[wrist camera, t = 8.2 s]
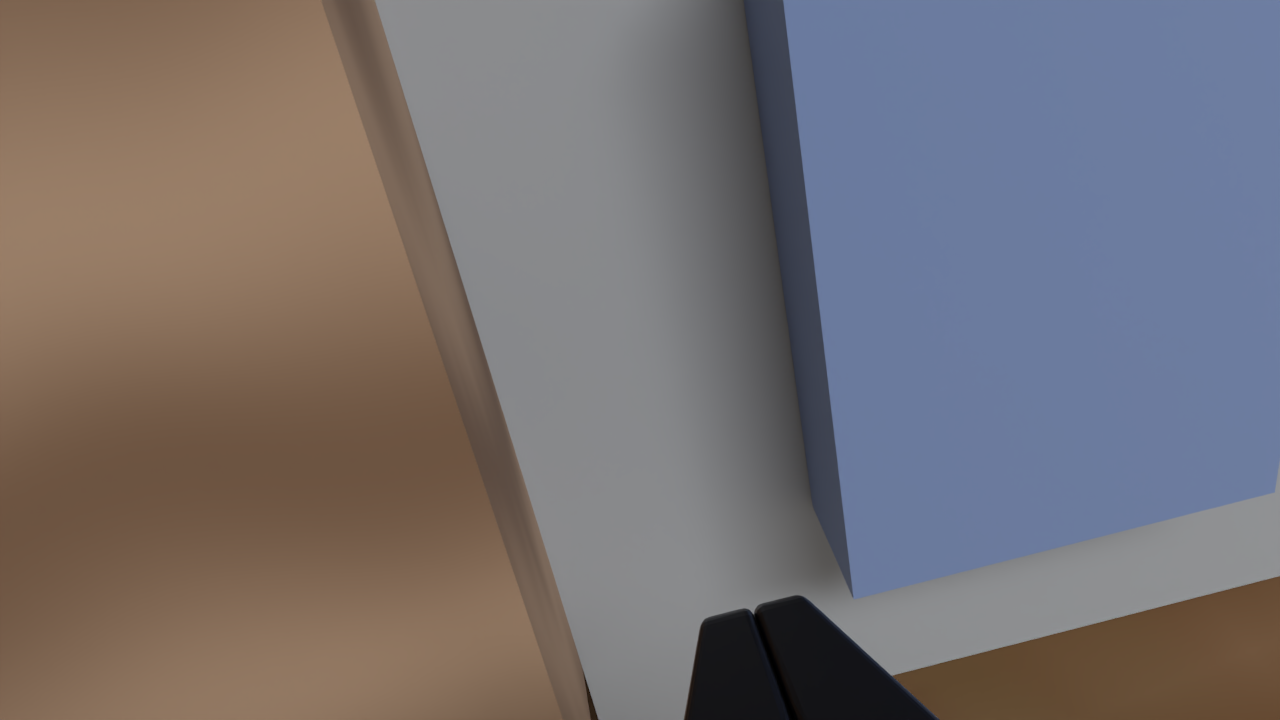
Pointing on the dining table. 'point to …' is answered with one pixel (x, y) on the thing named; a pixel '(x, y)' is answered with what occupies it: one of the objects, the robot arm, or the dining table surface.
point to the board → (247, 387)
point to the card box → (1023, 267)
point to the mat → (691, 352)
